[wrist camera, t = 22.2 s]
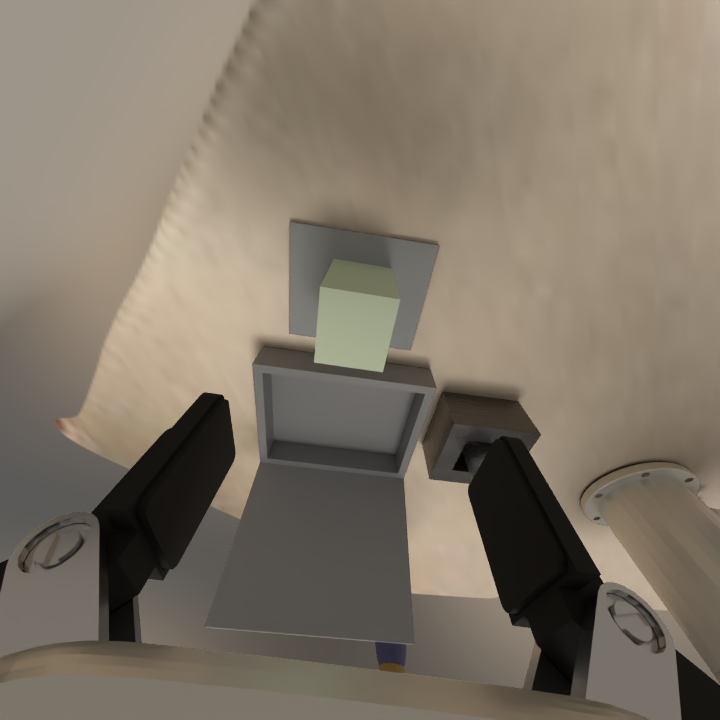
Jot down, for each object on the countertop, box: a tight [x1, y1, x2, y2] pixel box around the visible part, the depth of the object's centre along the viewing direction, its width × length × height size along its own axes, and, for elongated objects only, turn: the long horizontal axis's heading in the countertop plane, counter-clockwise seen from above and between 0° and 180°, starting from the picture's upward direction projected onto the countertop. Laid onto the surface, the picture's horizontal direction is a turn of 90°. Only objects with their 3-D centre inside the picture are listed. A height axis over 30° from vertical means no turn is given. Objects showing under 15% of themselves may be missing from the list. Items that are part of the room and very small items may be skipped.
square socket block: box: [422, 392, 541, 484], centre depth 29 cm, size 8×8×4 cm
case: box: [252, 347, 437, 479], centre depth 28 cm, size 16×13×3 cm
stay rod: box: [462, 440, 492, 479], centre depth 26 cm, size 3×3×10 cm
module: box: [314, 259, 401, 372], centre depth 20 cm, size 4×5×7 cm
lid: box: [205, 462, 414, 645], centre depth 26 cm, size 16×13×1 cm
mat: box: [289, 222, 439, 350], centre depth 23 cm, size 11×9×1 cm
